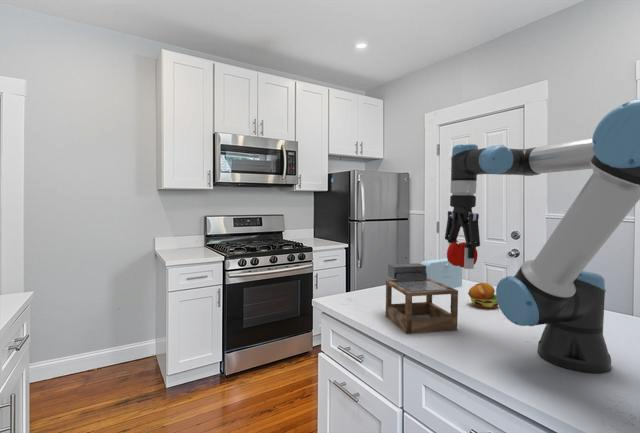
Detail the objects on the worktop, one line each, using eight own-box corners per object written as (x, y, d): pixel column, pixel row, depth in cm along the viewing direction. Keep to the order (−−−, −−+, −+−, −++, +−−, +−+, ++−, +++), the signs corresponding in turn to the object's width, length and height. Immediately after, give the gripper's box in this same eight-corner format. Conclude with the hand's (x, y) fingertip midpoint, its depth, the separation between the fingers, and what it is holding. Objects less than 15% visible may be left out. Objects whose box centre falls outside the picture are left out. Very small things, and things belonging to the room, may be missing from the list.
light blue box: (430, 293, 151) (430, 263, 150) (420, 290, 155) (420, 261, 155) (463, 286, 163) (464, 259, 162) (452, 284, 168) (453, 257, 167)
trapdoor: (386, 280, 125) (386, 264, 125) (419, 278, 127) (419, 263, 127) (410, 294, 106) (410, 275, 106) (448, 292, 108) (449, 274, 108)
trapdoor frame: (457, 329, 107) (458, 290, 107) (407, 333, 104) (407, 293, 104) (429, 312, 124) (430, 278, 124) (385, 315, 121) (386, 280, 120)
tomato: (463, 262, 115) (464, 240, 114) (482, 268, 106) (483, 244, 105) (439, 264, 112) (440, 241, 112) (456, 270, 104) (457, 245, 103)
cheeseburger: (506, 307, 130) (503, 283, 129) (486, 317, 126) (482, 292, 125) (485, 300, 139) (481, 277, 138) (465, 309, 136) (461, 285, 134)
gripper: (496, 194, 97) (492, 272, 99) (455, 194, 119) (453, 258, 120) (471, 194, 96) (468, 273, 98) (435, 194, 118) (433, 258, 119)
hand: (460, 265), depth 109 cm, fingers closed on tomato, 9 cm apart
